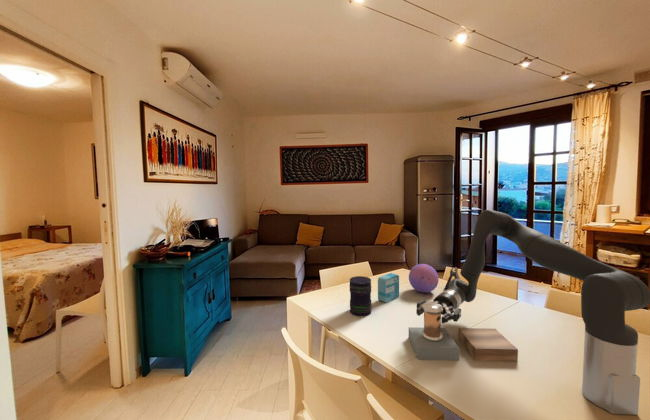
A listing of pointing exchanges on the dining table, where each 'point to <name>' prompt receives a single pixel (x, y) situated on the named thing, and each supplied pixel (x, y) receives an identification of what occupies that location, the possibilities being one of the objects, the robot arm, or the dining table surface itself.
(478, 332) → the walnut stand
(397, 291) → the data package
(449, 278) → the phone stand
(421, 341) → the slate stand
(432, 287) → the decorative ball
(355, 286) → the dark blue cylinder
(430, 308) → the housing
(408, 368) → the dining table surface
